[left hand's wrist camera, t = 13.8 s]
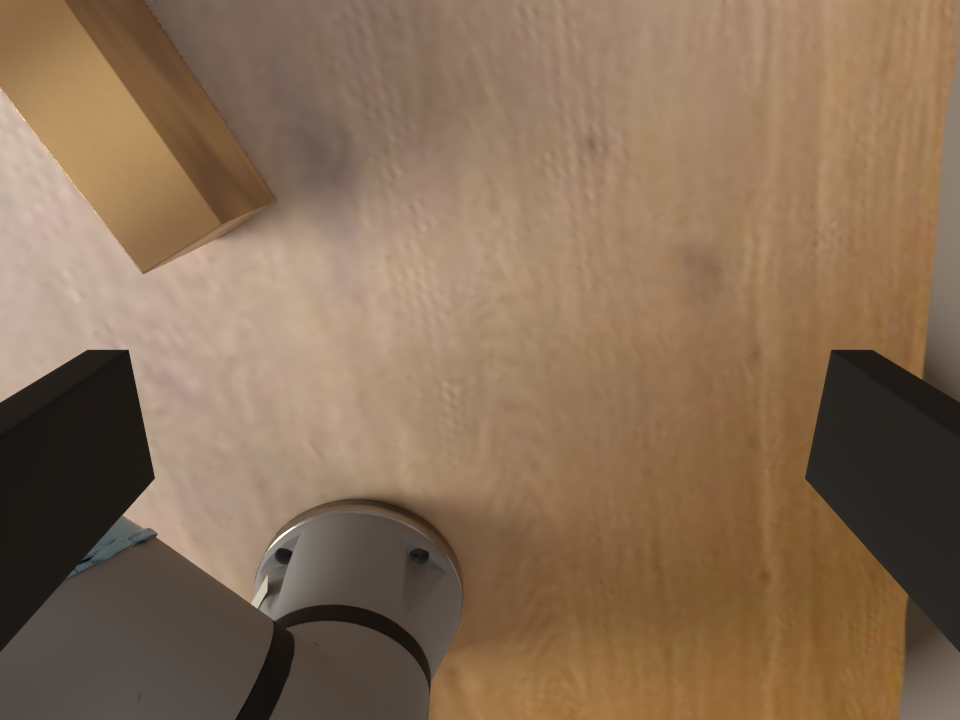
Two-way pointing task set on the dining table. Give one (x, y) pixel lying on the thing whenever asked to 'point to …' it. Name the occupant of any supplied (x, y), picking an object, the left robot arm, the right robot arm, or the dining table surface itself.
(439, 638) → the left robot arm
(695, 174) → the dining table surface
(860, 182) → the dining table surface
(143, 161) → the bar
